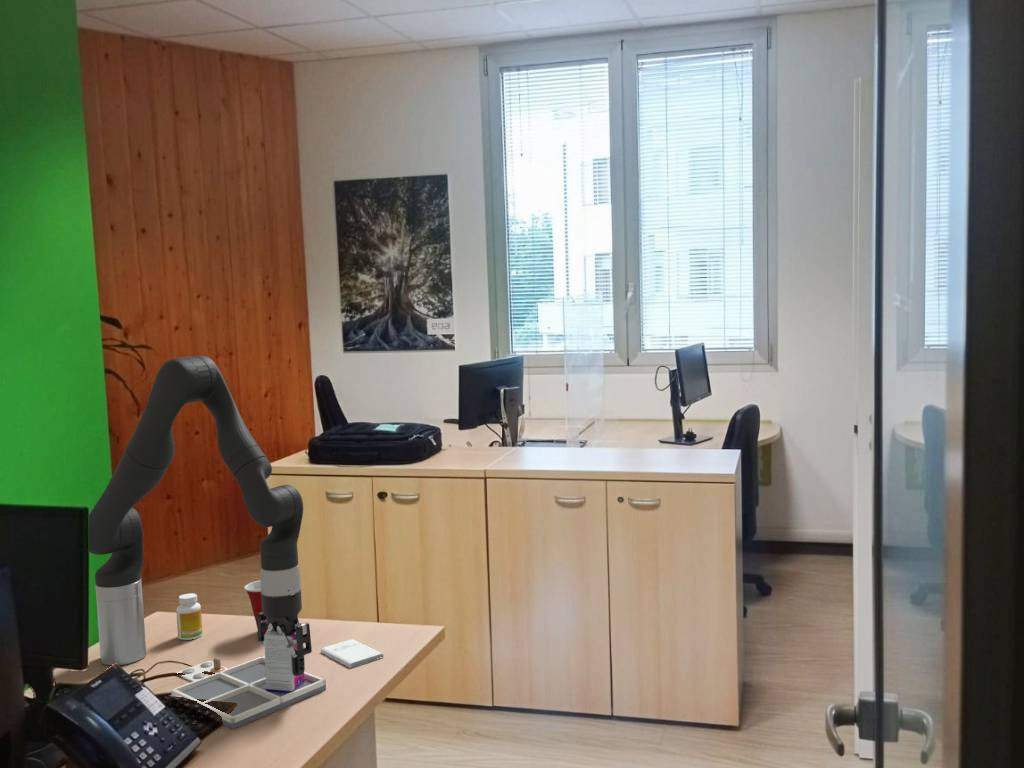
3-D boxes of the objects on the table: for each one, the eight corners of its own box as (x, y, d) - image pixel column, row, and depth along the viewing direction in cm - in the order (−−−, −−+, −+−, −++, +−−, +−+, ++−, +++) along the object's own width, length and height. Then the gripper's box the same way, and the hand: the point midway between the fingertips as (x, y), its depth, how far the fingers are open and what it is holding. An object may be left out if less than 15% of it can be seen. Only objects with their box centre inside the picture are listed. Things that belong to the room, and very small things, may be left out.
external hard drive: (350, 671, 189) (321, 654, 199) (383, 660, 195) (353, 645, 204) (350, 663, 189) (320, 647, 199) (383, 652, 195) (353, 637, 204)
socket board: (171, 699, 177) (171, 689, 176) (263, 665, 192) (263, 655, 192) (232, 729, 163) (232, 718, 163) (326, 689, 179) (325, 679, 179)
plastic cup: (270, 621, 220) (268, 572, 219) (304, 627, 215) (301, 578, 214) (236, 635, 211) (233, 585, 210) (270, 643, 205) (267, 591, 204)
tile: (175, 674, 189) (174, 661, 189) (209, 662, 195) (209, 649, 195) (196, 683, 184) (195, 670, 184) (230, 670, 190) (229, 658, 190)
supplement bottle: (207, 635, 212) (204, 594, 211) (186, 642, 207) (183, 601, 207) (194, 630, 215) (191, 590, 214) (173, 637, 211) (170, 596, 210)
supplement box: (293, 694, 175) (290, 636, 174) (265, 692, 176) (261, 635, 175) (306, 681, 181) (303, 625, 180) (278, 680, 182) (275, 624, 181)
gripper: (243, 587, 178) (248, 667, 180) (287, 600, 169) (291, 684, 171) (275, 577, 184) (279, 655, 185) (319, 590, 175) (323, 671, 176)
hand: (285, 669), depth 178 cm, fingers open, 8 cm apart
